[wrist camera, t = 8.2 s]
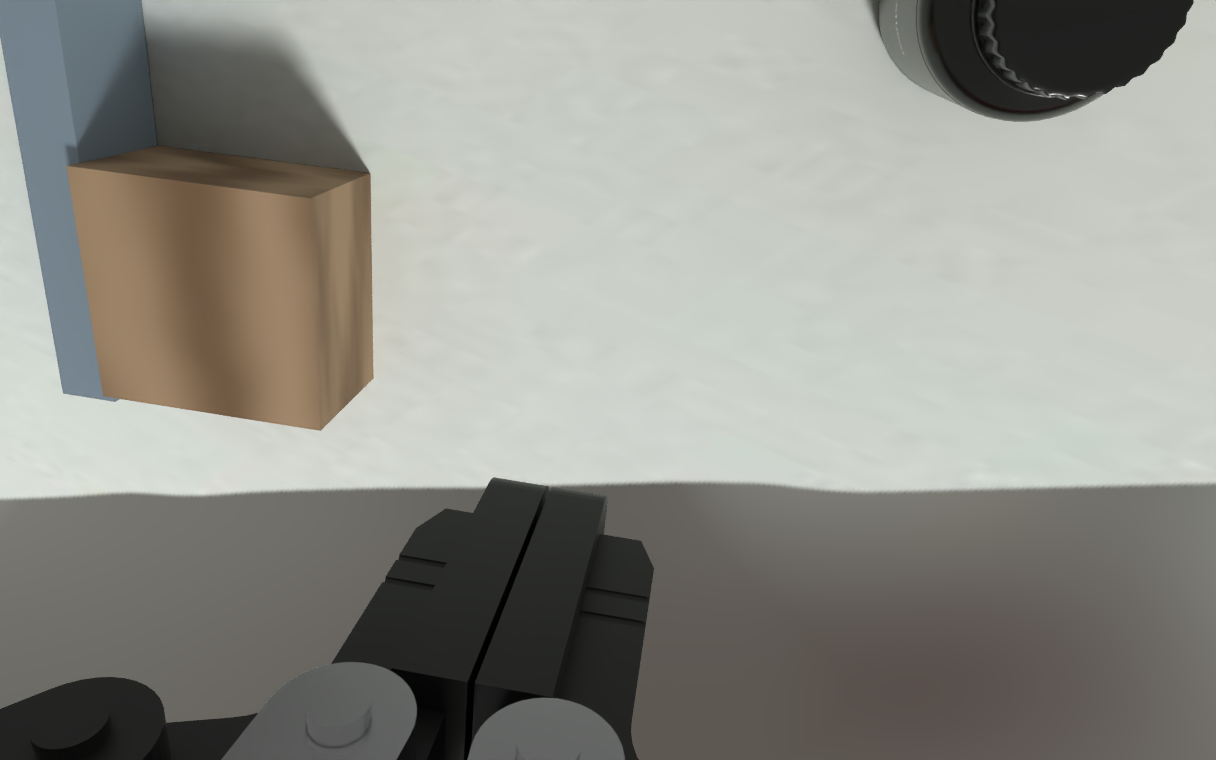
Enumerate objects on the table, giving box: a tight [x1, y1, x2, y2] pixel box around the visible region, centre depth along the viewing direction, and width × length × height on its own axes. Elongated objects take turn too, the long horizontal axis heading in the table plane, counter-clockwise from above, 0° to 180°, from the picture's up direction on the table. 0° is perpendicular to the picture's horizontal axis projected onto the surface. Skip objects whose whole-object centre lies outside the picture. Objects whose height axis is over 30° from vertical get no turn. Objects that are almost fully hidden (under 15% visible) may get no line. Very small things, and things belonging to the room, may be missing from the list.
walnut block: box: [66, 146, 373, 431], centre depth 37 cm, size 10×10×6 cm
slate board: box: [0, 0, 157, 402], centre depth 36 cm, size 2×20×5 cm, turn 174°
